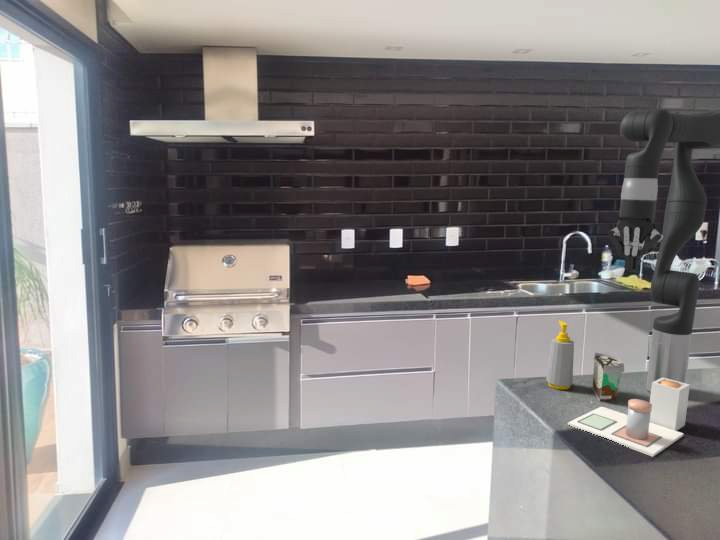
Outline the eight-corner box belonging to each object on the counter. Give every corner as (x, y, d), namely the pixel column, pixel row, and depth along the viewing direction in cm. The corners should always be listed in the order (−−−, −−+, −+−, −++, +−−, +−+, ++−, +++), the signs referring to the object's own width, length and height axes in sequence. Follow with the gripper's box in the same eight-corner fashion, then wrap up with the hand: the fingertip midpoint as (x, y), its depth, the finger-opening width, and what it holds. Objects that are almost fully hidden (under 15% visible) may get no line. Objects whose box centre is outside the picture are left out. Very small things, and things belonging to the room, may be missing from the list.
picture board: (600, 408, 139) (601, 405, 139) (683, 435, 125) (683, 432, 125) (567, 425, 129) (567, 422, 129) (653, 456, 115) (653, 453, 115)
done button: (664, 389, 133) (665, 379, 132) (682, 394, 130) (683, 384, 129) (657, 392, 130) (658, 382, 130) (675, 398, 127) (676, 387, 127)
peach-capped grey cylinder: (630, 429, 126) (634, 397, 125) (651, 436, 123) (655, 403, 122) (621, 434, 123) (624, 402, 122) (642, 442, 120) (646, 408, 119)
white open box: (657, 416, 135) (662, 377, 134) (684, 425, 131) (689, 384, 129) (647, 423, 132) (651, 382, 130) (674, 432, 127) (679, 390, 125)
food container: (626, 406, 142) (630, 368, 140) (600, 403, 143) (604, 366, 141) (614, 389, 154) (618, 354, 152) (591, 386, 155) (594, 352, 153)
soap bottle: (566, 381, 158) (571, 320, 155) (576, 390, 151) (582, 326, 149) (542, 381, 158) (547, 319, 155) (551, 390, 151) (556, 326, 148)
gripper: (675, 199, 128) (666, 274, 131) (618, 197, 138) (611, 266, 140) (661, 199, 123) (653, 276, 126) (603, 197, 133) (596, 268, 136)
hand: (631, 271), depth 133 cm, fingers closed
